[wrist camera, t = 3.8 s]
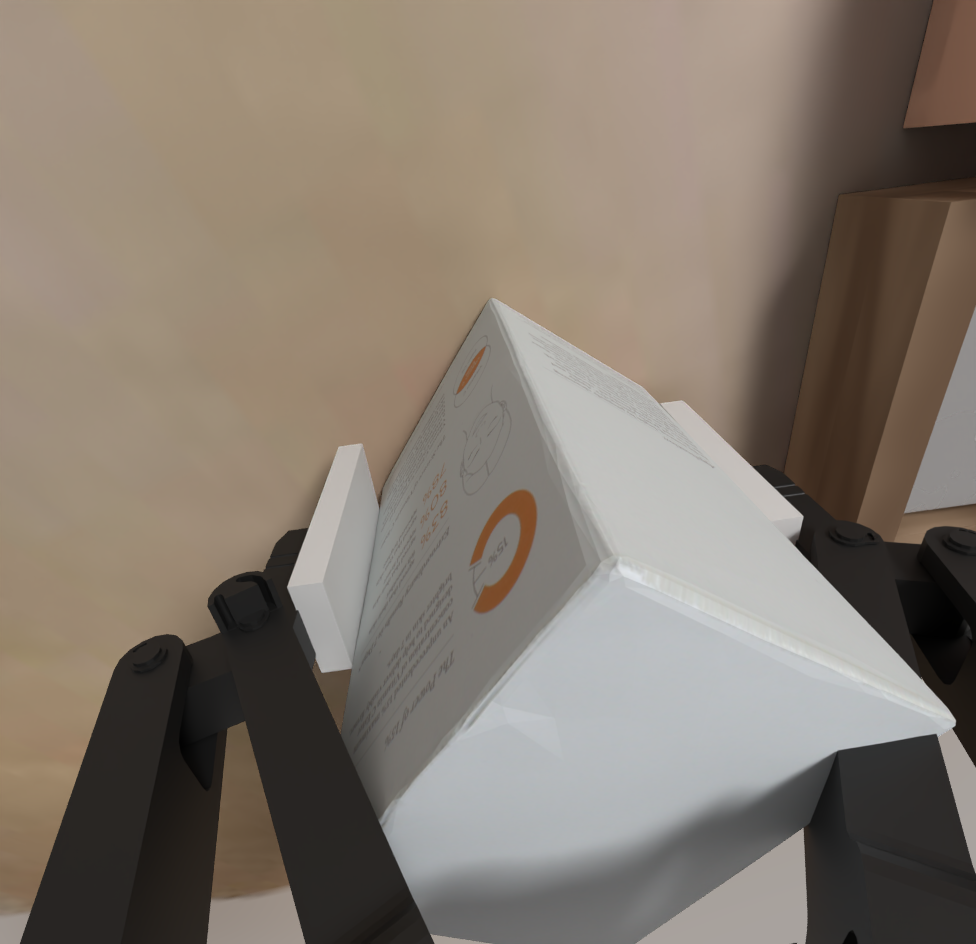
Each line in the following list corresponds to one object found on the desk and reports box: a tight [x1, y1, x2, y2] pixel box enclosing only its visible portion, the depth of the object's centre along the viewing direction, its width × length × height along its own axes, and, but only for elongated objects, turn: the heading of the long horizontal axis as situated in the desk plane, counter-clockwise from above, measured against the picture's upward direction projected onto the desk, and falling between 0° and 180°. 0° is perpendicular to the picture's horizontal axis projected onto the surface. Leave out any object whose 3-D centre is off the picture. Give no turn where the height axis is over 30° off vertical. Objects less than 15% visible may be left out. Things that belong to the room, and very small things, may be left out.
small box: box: [341, 298, 956, 944], centre depth 13 cm, size 8×6×13 cm
